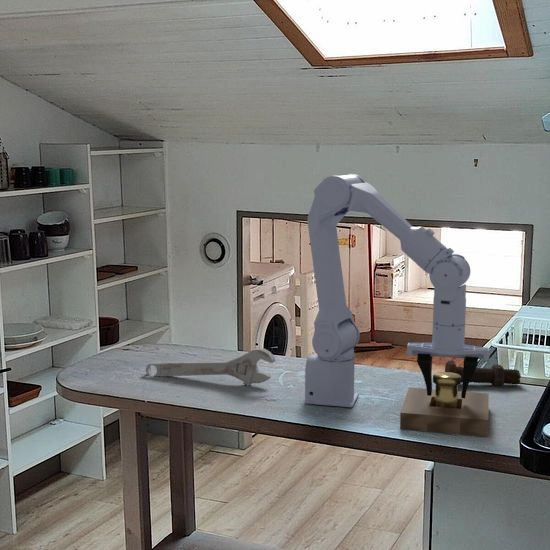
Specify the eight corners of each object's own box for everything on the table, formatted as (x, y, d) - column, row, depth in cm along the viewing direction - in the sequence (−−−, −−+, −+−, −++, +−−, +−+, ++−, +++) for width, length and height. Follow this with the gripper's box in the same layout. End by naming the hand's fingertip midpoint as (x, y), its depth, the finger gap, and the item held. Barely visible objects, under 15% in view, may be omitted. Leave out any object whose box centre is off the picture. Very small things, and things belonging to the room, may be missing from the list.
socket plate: (400, 428, 140) (400, 412, 140) (408, 402, 154) (408, 387, 154) (487, 436, 136) (488, 420, 136) (487, 408, 150) (488, 393, 150)
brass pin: (431, 421, 144) (432, 378, 143) (432, 412, 149) (433, 371, 148) (459, 423, 143) (461, 380, 142) (459, 414, 148) (461, 373, 146)
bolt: (518, 395, 164) (445, 392, 165) (514, 377, 168) (443, 374, 169) (524, 376, 161) (449, 373, 161) (519, 358, 164) (447, 355, 165)
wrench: (152, 386, 175) (278, 385, 164) (147, 388, 173) (275, 387, 162) (147, 351, 174) (273, 347, 163) (143, 353, 172) (270, 349, 161)
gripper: (490, 320, 144) (487, 391, 146) (410, 315, 148) (408, 385, 150) (490, 329, 137) (487, 403, 140) (406, 324, 141) (404, 397, 143)
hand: (446, 395), depth 145 cm, fingers open, 5 cm apart
